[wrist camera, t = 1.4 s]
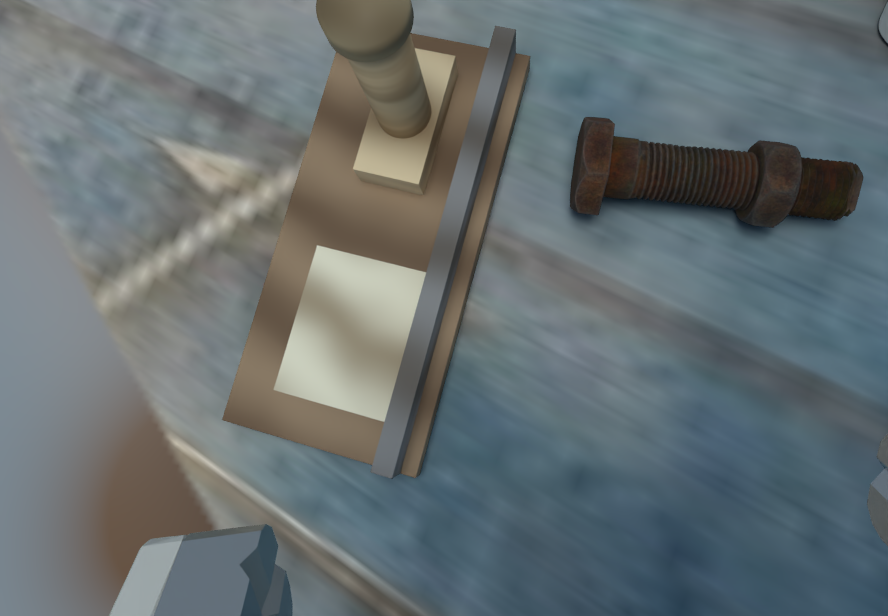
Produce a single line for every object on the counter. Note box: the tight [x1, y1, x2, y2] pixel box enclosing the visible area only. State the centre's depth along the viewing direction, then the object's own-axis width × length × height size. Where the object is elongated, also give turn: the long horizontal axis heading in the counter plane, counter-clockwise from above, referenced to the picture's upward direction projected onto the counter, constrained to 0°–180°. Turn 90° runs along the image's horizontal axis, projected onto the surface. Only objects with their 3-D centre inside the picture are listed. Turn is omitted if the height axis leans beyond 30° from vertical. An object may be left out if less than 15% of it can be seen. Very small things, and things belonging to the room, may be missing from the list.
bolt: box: [570, 117, 863, 227], centre depth 35 cm, size 6×5×15 cm
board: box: [222, 26, 530, 479], centre depth 37 cm, size 26×12×4 cm, turn 165°
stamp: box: [316, 0, 458, 196], centre depth 33 cm, size 8×4×12 cm, turn 165°
